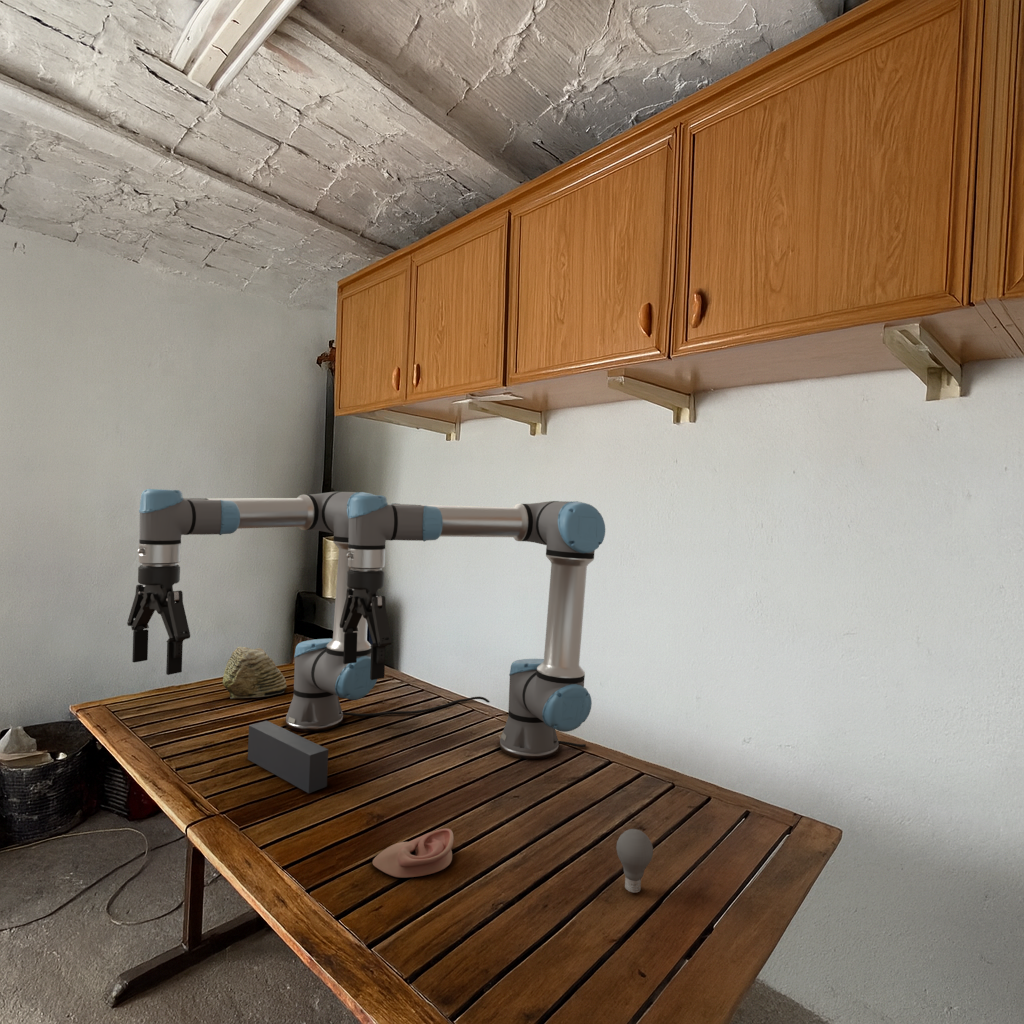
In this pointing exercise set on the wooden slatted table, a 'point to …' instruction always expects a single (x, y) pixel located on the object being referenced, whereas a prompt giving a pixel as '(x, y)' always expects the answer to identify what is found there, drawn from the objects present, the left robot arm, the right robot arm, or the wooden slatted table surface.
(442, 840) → the anatomical model
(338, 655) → the left robot arm
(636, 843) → the light bulb
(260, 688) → the fossil
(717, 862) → the wooden slatted table surface
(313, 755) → the bar
